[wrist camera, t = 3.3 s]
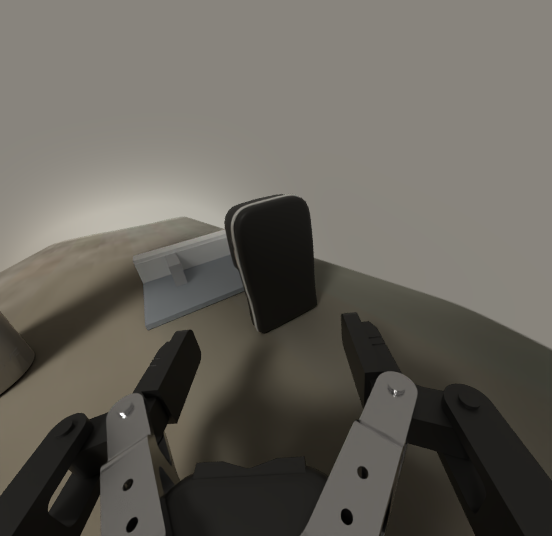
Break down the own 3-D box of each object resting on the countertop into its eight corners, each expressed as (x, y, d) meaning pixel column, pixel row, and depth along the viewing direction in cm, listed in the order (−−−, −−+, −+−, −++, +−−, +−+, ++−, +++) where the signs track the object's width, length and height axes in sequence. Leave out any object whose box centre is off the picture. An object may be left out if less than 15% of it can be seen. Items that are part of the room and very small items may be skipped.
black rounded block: (298, 291, 27) (285, 188, 22) (320, 306, 24) (311, 190, 19) (243, 318, 24) (213, 206, 19) (260, 338, 21) (229, 212, 16)
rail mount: (147, 330, 24) (130, 298, 23) (144, 279, 36) (133, 255, 34) (278, 276, 30) (274, 247, 29) (239, 248, 42) (234, 226, 40)
